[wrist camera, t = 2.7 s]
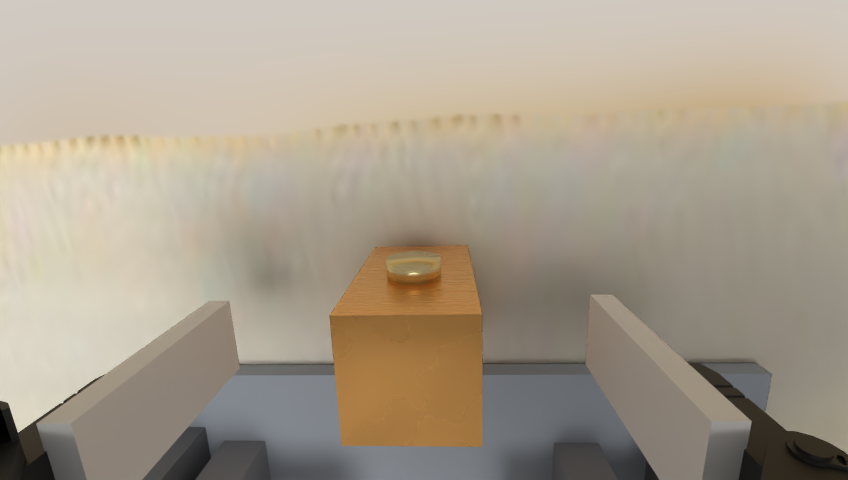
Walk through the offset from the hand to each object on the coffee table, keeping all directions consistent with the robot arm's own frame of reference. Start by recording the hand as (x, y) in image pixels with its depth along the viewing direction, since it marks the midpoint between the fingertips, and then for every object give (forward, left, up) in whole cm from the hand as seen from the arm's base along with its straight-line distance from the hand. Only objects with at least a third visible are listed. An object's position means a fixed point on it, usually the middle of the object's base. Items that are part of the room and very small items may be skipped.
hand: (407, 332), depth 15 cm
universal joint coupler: (0, 0, -5) cm, 5 cm away
